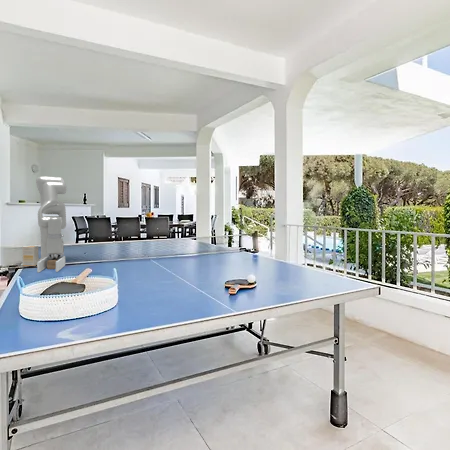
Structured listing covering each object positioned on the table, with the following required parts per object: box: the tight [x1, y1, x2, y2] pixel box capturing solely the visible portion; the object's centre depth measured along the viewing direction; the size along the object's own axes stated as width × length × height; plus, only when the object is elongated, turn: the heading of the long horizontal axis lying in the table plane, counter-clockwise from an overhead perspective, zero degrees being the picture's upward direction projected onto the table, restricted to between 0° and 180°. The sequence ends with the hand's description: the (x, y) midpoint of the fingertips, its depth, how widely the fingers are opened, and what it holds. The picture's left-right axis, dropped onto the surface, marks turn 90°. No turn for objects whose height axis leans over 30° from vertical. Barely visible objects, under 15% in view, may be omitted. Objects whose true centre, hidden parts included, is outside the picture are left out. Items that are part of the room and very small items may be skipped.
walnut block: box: [46, 260, 58, 270], centre depth 217 cm, size 5×5×5 cm
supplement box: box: [21, 245, 39, 267], centre depth 222 cm, size 8×5×13 cm, turn 84°
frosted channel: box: [36, 255, 66, 274], centre depth 216 cm, size 24×11×6 cm, turn 15°
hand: (55, 264), depth 224 cm, fingers closed
